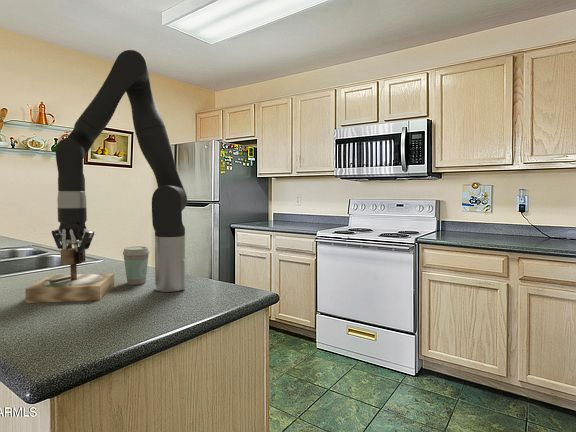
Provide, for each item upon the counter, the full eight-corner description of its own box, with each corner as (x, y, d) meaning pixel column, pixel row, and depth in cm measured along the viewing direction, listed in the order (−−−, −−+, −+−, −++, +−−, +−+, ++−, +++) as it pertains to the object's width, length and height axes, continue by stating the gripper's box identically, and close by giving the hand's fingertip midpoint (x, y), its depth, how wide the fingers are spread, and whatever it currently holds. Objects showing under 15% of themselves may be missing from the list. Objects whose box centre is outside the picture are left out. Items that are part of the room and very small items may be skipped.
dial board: (114, 285, 124) (114, 272, 124) (100, 299, 107) (99, 284, 107) (50, 287, 120) (50, 274, 120) (25, 303, 103) (25, 287, 103)
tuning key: (80, 276, 117) (79, 247, 116) (85, 277, 116) (85, 247, 115) (47, 284, 107) (46, 252, 106) (53, 285, 106) (52, 252, 105)
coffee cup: (140, 286, 123) (140, 250, 122) (117, 284, 124) (116, 249, 124) (154, 280, 131) (154, 246, 130) (133, 279, 133) (132, 245, 132)
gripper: (101, 206, 114) (102, 262, 115) (62, 205, 117) (64, 260, 118) (82, 207, 107) (83, 267, 108) (42, 206, 110) (43, 264, 111)
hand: (73, 263), depth 113 cm, fingers closed on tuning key, 2 cm apart
